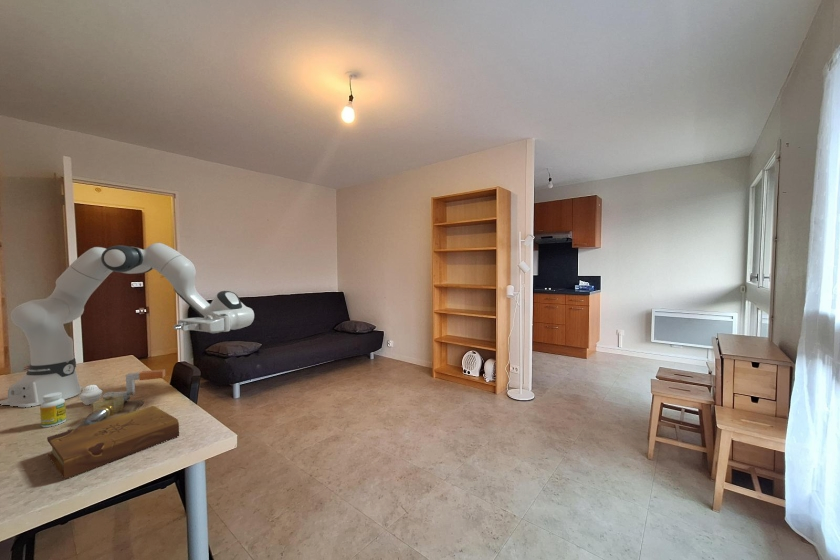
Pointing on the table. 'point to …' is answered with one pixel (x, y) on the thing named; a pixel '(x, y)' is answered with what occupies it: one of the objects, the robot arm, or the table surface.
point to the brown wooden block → (110, 440)
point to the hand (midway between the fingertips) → (178, 327)
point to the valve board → (128, 408)
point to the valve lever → (131, 382)
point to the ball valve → (106, 408)
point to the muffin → (90, 394)
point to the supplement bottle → (52, 410)
